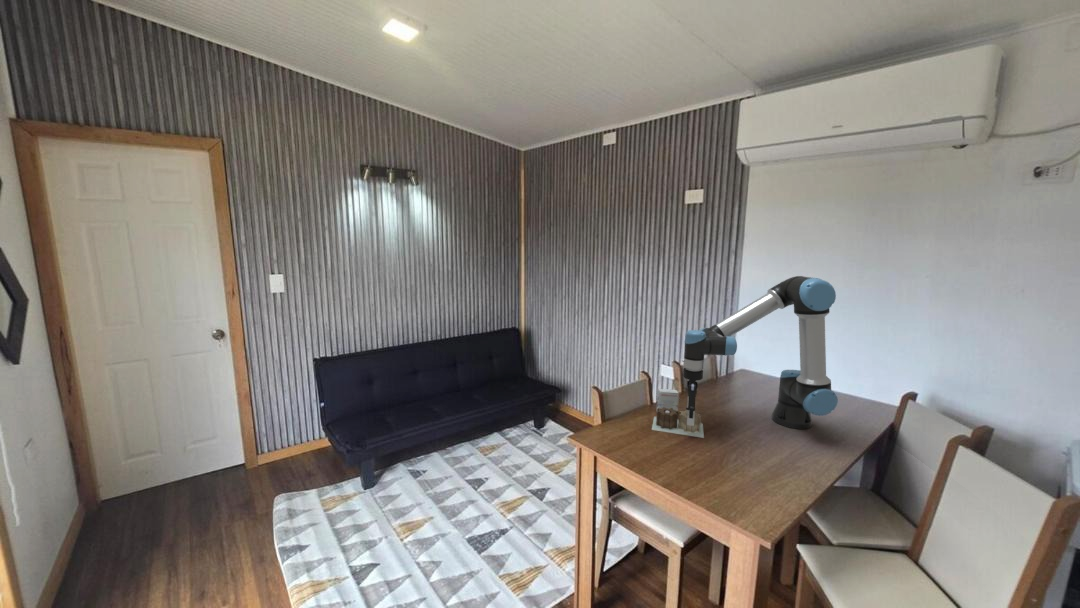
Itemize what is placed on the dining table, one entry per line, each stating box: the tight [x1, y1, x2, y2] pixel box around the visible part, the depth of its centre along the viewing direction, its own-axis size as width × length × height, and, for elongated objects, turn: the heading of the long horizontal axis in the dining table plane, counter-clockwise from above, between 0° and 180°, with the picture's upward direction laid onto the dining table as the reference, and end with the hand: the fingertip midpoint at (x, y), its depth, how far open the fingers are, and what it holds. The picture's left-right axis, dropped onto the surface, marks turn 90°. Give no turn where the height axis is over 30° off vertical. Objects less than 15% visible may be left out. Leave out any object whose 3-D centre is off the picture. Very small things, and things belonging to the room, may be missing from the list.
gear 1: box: [656, 407, 679, 429], centre depth 176 cm, size 8×8×6 cm
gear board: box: [651, 411, 705, 439], centre depth 175 cm, size 20×14×7 cm
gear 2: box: [678, 409, 702, 433], centre depth 173 cm, size 8×8×6 cm
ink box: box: [655, 388, 680, 412], centre depth 188 cm, size 9×5×12 cm, turn 84°
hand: (690, 418), depth 173 cm, fingers open, 13 cm apart
